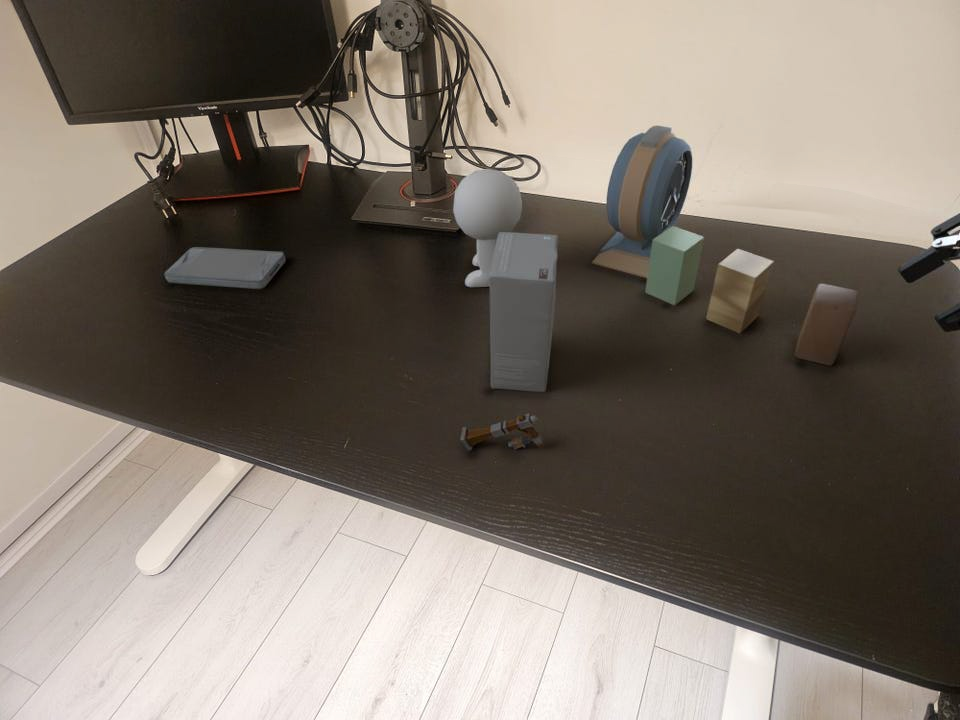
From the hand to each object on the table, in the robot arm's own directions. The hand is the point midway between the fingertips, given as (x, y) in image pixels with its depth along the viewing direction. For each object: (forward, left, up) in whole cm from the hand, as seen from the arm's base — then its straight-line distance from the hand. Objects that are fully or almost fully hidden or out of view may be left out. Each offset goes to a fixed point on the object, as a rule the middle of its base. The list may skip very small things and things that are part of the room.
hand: (920, 300), depth 63 cm
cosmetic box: (+30, +28, -8) cm, 42 cm away
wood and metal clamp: (+24, +38, -8) cm, 46 cm away
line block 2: (+17, +4, -8) cm, 19 cm away
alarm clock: (+34, -2, -8) cm, 35 cm away
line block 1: (+26, +4, -8) cm, 27 cm away
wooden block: (+7, +4, -8) cm, 11 cm away
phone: (+78, +41, -8) cm, 88 cm away
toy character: (+47, +16, -8) cm, 50 cm away
